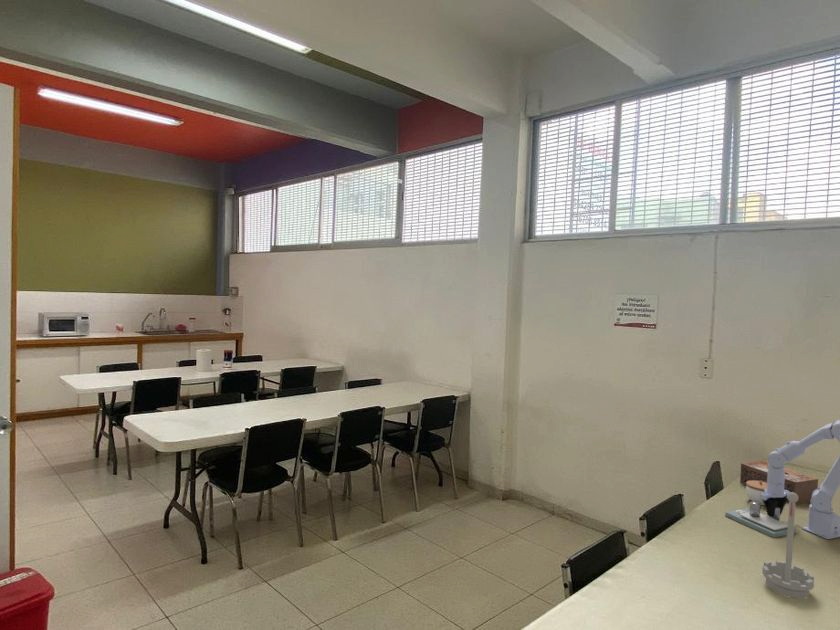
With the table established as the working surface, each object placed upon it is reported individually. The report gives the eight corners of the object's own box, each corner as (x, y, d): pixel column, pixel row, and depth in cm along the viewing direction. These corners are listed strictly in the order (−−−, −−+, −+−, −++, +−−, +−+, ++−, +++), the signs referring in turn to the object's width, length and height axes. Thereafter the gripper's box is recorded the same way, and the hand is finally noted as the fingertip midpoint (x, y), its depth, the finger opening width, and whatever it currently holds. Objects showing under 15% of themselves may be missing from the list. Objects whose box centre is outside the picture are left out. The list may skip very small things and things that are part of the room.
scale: (795, 533, 202) (795, 526, 202) (774, 537, 197) (774, 531, 197) (745, 512, 220) (746, 505, 220) (725, 515, 216) (725, 509, 216)
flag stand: (764, 572, 172) (770, 481, 171) (814, 587, 164) (820, 492, 163) (758, 589, 162) (764, 492, 161) (811, 606, 154) (818, 504, 153)
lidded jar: (780, 507, 226) (781, 486, 225) (754, 506, 226) (755, 485, 226) (764, 497, 237) (765, 477, 236) (740, 496, 237) (741, 476, 236)
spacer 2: (781, 520, 211) (782, 507, 211) (775, 521, 210) (776, 508, 210) (772, 516, 215) (773, 504, 214) (766, 517, 213) (767, 505, 213)
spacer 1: (762, 516, 209) (762, 504, 209) (755, 517, 208) (755, 505, 208) (753, 513, 213) (754, 500, 213) (747, 514, 212) (747, 501, 211)
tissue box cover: (739, 483, 254) (741, 463, 253) (761, 480, 259) (762, 460, 258) (794, 505, 230) (795, 482, 229) (816, 501, 235) (818, 479, 234)
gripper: (778, 476, 218) (776, 508, 219) (753, 480, 213) (752, 513, 213) (795, 482, 212) (793, 515, 212) (771, 486, 206) (769, 520, 207)
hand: (774, 515), depth 212 cm, fingers closed on spacer 2, 4 cm apart
